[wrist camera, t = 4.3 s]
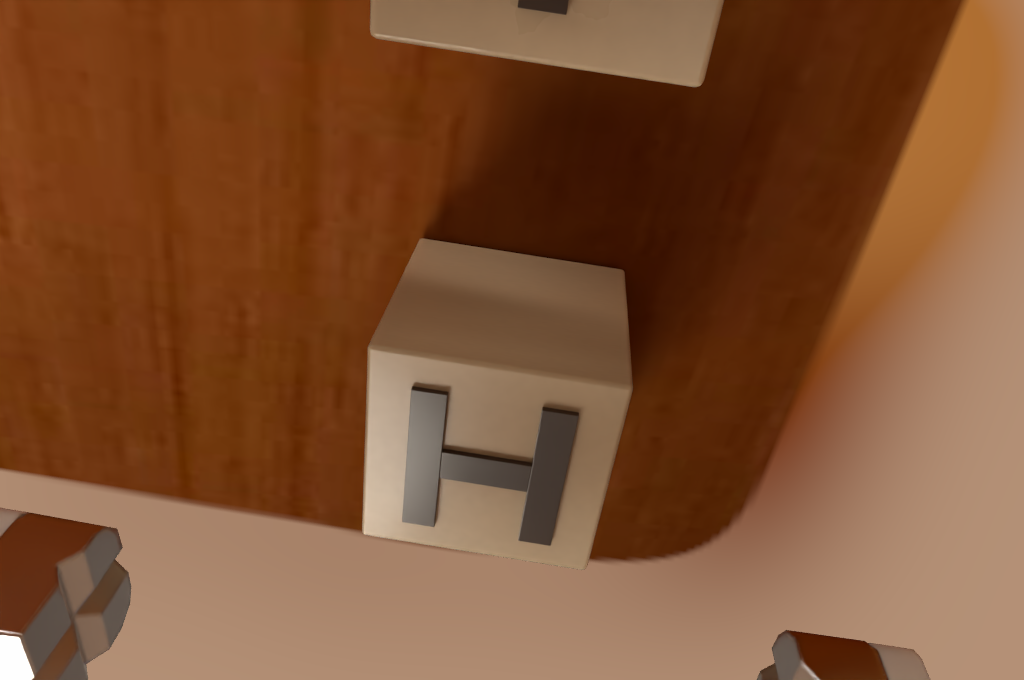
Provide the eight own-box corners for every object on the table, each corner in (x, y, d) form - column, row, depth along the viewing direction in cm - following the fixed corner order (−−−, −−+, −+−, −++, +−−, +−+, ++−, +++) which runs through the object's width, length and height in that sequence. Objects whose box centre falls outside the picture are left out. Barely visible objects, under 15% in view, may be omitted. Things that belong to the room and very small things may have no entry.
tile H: (588, 430, 17) (586, 576, 13) (408, 402, 17) (359, 540, 13) (625, 268, 15) (634, 391, 11) (419, 236, 15) (365, 348, 11)
